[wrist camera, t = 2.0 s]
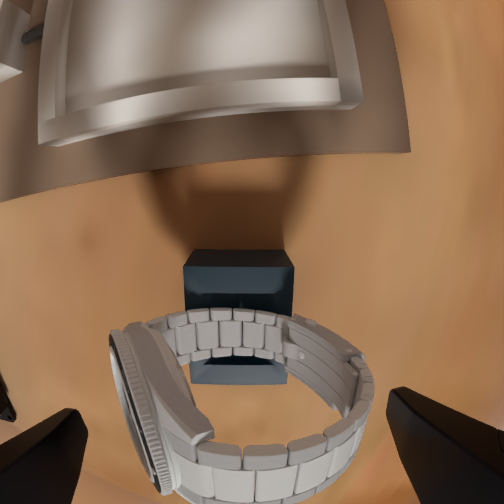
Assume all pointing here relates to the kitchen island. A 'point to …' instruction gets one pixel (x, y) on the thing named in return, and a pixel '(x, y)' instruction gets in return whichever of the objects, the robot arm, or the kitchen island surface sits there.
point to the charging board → (190, 85)
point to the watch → (236, 383)
